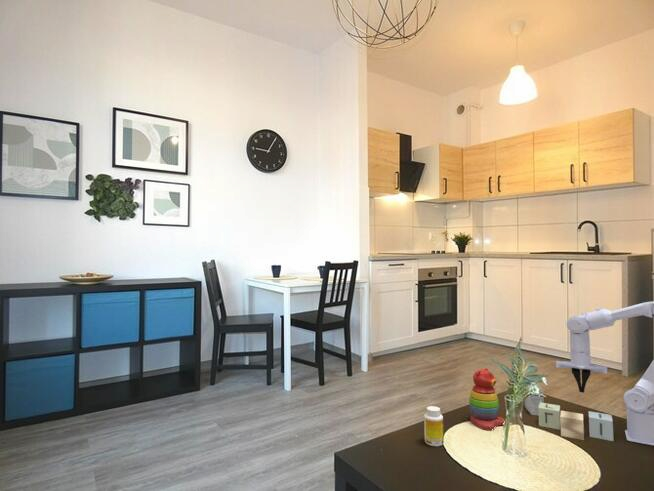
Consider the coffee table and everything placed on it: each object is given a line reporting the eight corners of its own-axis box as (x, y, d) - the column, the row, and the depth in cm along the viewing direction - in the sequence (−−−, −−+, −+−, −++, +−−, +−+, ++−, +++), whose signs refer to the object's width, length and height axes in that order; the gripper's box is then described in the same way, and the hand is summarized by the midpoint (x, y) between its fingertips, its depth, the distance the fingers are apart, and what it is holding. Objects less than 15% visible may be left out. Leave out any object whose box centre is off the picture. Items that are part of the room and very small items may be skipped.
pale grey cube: (612, 434, 123) (611, 414, 124) (613, 441, 118) (612, 421, 118) (589, 430, 126) (588, 410, 127) (589, 437, 121) (588, 417, 122)
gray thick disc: (544, 416, 138) (543, 391, 138) (531, 415, 139) (530, 390, 139) (537, 408, 146) (536, 384, 146) (524, 407, 146) (523, 384, 147)
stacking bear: (489, 432, 125) (487, 375, 126) (462, 421, 134) (461, 368, 135) (508, 424, 131) (506, 370, 132) (482, 414, 140) (480, 364, 141)
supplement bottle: (446, 447, 115) (445, 411, 116) (427, 447, 115) (427, 412, 115) (440, 438, 121) (439, 404, 121) (422, 439, 120) (421, 405, 121)
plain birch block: (583, 433, 124) (583, 414, 124) (584, 440, 119) (583, 420, 119) (561, 429, 127) (561, 410, 127) (561, 436, 122) (560, 416, 122)
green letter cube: (560, 423, 132) (560, 405, 132) (559, 430, 126) (559, 411, 127) (540, 420, 135) (539, 402, 135) (538, 426, 130) (538, 407, 130)
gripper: (555, 350, 134) (556, 391, 133) (607, 355, 126) (608, 398, 125) (555, 347, 140) (557, 385, 139) (605, 351, 132) (607, 392, 131)
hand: (581, 391), depth 132 cm, fingers closed
